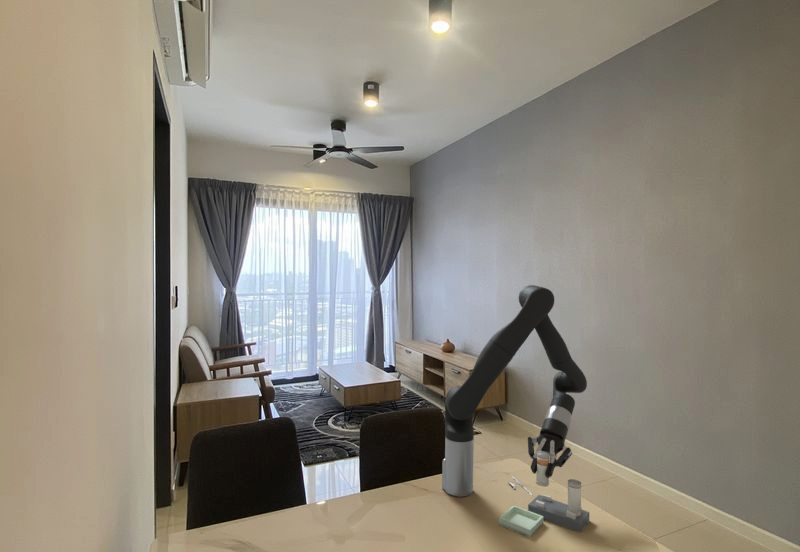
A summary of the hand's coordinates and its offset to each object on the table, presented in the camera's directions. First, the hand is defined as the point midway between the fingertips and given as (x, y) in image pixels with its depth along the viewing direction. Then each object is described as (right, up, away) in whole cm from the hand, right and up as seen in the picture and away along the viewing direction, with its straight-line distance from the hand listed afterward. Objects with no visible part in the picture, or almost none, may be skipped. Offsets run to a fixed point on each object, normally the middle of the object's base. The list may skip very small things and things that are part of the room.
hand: (540, 474), depth 127 cm
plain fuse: (+8, -9, -5) cm, 13 cm away
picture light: (-2, -13, +17) cm, 21 cm away
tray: (-7, -11, -6) cm, 15 cm away
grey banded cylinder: (+1, -3, +1) cm, 4 cm away
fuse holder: (+5, -12, -2) cm, 13 cm away
